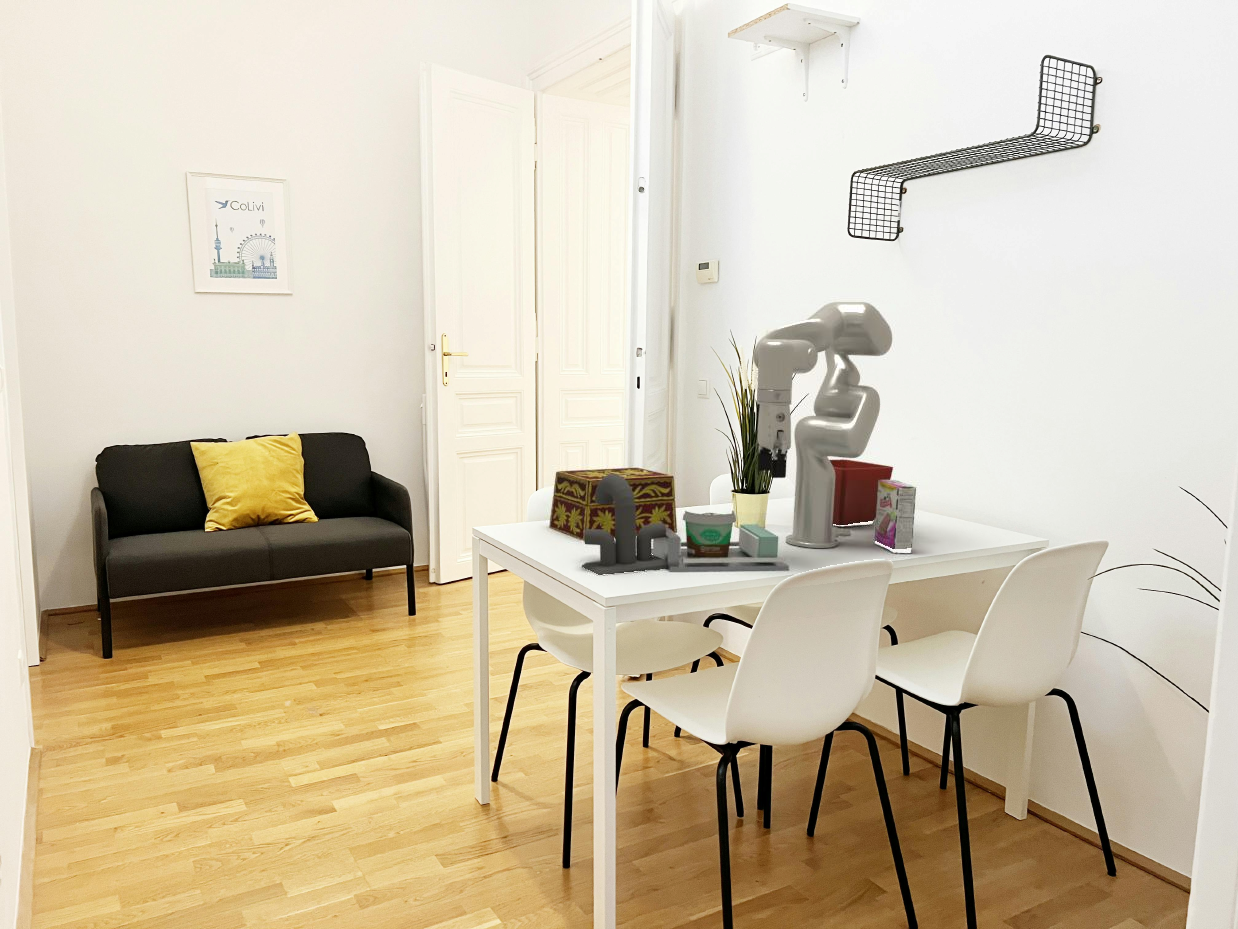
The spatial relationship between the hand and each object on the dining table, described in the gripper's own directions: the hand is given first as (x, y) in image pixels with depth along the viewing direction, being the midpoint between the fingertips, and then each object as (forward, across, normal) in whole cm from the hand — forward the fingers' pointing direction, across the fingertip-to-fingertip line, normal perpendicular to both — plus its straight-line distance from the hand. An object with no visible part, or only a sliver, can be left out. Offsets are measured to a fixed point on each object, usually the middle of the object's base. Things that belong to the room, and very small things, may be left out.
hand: (771, 474), depth 205 cm
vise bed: (+19, -1, +12) cm, 23 cm away
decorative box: (+20, +34, +30) cm, 50 cm away
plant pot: (+22, +45, -36) cm, 62 cm away
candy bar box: (+21, +11, -35) cm, 43 cm away
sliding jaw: (+18, -1, +3) cm, 19 cm away
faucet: (+19, -4, +35) cm, 40 cm away
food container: (+18, -2, +14) cm, 23 cm away
